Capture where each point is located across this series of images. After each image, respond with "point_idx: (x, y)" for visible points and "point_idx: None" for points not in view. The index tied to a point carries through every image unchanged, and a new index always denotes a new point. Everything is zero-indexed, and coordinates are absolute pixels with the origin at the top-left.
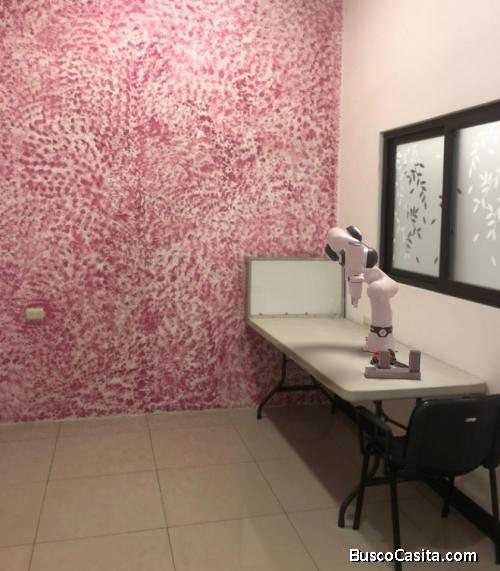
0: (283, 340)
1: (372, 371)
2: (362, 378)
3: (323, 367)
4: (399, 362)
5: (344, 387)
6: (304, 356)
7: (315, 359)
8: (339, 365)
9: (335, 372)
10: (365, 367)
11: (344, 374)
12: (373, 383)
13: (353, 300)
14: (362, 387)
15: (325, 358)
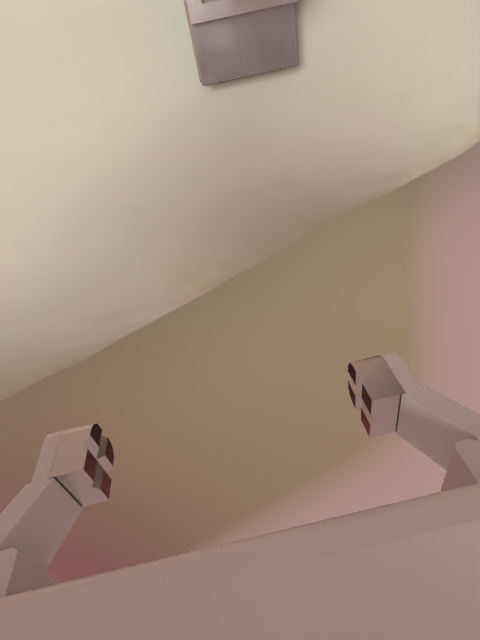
0: None
1: (295, 28)
2: (305, 87)
3: (170, 282)
4: None
5: (447, 157)
6: (29, 375)
7: (53, 333)
8: (104, 228)
9: (232, 225)
10: (218, 82)
11: (254, 183)
12: (388, 15)
13: (61, 497)
14: (452, 74)
15: (8, 304)
